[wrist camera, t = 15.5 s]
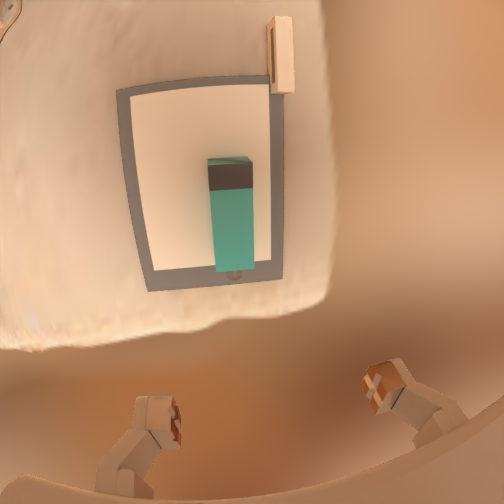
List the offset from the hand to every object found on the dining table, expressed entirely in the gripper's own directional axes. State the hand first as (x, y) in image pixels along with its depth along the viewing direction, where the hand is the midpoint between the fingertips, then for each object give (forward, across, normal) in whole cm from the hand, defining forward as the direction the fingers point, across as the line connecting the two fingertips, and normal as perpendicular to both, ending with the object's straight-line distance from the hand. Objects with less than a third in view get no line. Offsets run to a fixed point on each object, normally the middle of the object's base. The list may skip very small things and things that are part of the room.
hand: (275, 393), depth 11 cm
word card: (+24, -6, -16) cm, 30 cm away
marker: (+23, 0, 0) cm, 23 cm away
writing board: (+24, +2, -2) cm, 24 cm away
